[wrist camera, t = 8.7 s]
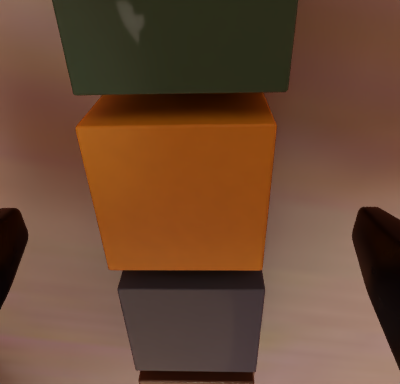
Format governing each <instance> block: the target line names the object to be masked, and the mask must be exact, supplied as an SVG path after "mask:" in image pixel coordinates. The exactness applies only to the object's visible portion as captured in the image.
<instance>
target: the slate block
mask: <svg viewBox="0 0 400 384" xmlns="http://www.w3.org/2000/svg"><path fill="white" fill-rule="evenodd" d="M118 294H119V298H120V302H121V307H122V311H123V316H124V320H125V324H126V329H127V333H128V338H129V342H130V346H131V351H132V355H133V360H134V364H135V369H136V370H140V371H210V372H256V365H257V356H258V347H259V339H260V330H261V321H262V313H263V304H264V295H265V286H264V280H263V274H262V270H260V271H238V270H123V272H122V275H121V279H120V282H119V285H118Z"/></svg>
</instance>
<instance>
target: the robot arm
mask: <svg viewBox="0 0 400 384" xmlns="http://www.w3.org/2000/svg"><path fill="white" fill-rule="evenodd" d="M352 240H353V244H354V247H355V251H356V254H357V258H358V261H359V265H360V269H361V272H362V276H363V279H364V283H365V286H366V289H367V292H368V295H369V297H370V300H371V302H372V305H373V307H374V310H375V312H376V314H377V317H378V319H379V322H380V324H381V327H382V329H383V331H384V334H385V336H386V339H387V341H388V343H389V346H390V348H391V351H392V353H393V355H394V358H395V360H396V363H397V365H398V368H399V370H400V220H399V219H398V218H396V217H394V216H392V215H391V214H389V213H387V212H385V211H384V210H382V209H380V208H378V207H362V208H360V209H359V211H358V214H357V217H356V221H355V224H354V228H353V232H352ZM27 241H28V230H27V228H26V225H25V223H24V220H23V217H22V215H21V212H20V211H19V210H18V209H16V208H1V209H0V309H1V307H2V305H3V303H4V301H5V299H6V297H7V295H8V292H9V290H10V288H11V285H12V283H13V280H14V278H15V275H16V272H17V269H18V266H19V264H20V261H21V258H22V255H23V253H24V250H25V247H26V244H27Z"/></svg>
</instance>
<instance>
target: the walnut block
mask: <svg viewBox="0 0 400 384" xmlns="http://www.w3.org/2000/svg"><path fill="white" fill-rule="evenodd" d="M139 384H254V372H210V371H140V375H139Z"/></svg>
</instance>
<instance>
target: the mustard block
mask: <svg viewBox="0 0 400 384" xmlns="http://www.w3.org/2000/svg"><path fill="white" fill-rule="evenodd" d="M75 129H76V134H77V138H78V142H79V146H80V151H81V155H82V159H83V163H84V167H85V172H86V176H87V180H88V184H89V188H90V193H91V197H92V201H93V205H94V209H95V214H96V218H97V222H98V226H99V230H100V235H101V239H102V243H103V247H104V251H105V256H106V260H107V264H108V268H109V270H238V271H260V270H262V268H263V258H264V248H265V238H266V229H267V219H268V209H269V199H270V190H271V180H272V170H273V161H274V151H275V141H276V131H277V125H276V122H275V120H274V117H273V115H272V113H271V110H270V108H269V105H268V103H267V100H266V98H265V96H264V93H263V92H257V93H194V94H131V95H102V96H101V97H100V99H99V100H98V101H97V102H96V103H95V105H94V106H93V107H92V108H91V109H90V110H89V112H88V113H87V114H86V115H85V116H84V117H83V119H82V120H81V121H80V122H79V123H78V125H77V126H76V128H75Z"/></svg>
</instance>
